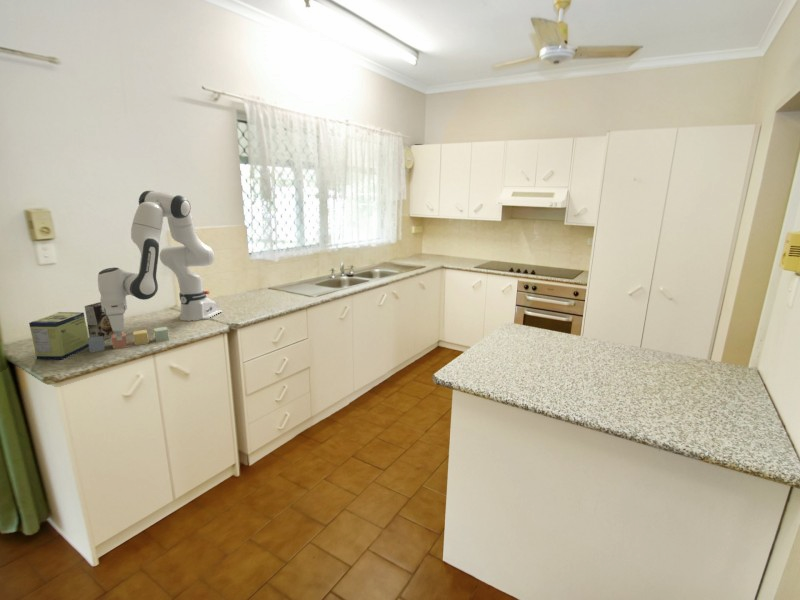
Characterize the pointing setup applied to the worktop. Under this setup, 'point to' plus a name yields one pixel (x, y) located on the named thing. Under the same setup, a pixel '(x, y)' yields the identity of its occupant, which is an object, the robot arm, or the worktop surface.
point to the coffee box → (98, 321)
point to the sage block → (161, 334)
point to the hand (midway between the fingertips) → (119, 336)
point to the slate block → (96, 343)
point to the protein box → (59, 335)
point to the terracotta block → (119, 341)
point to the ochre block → (140, 337)
